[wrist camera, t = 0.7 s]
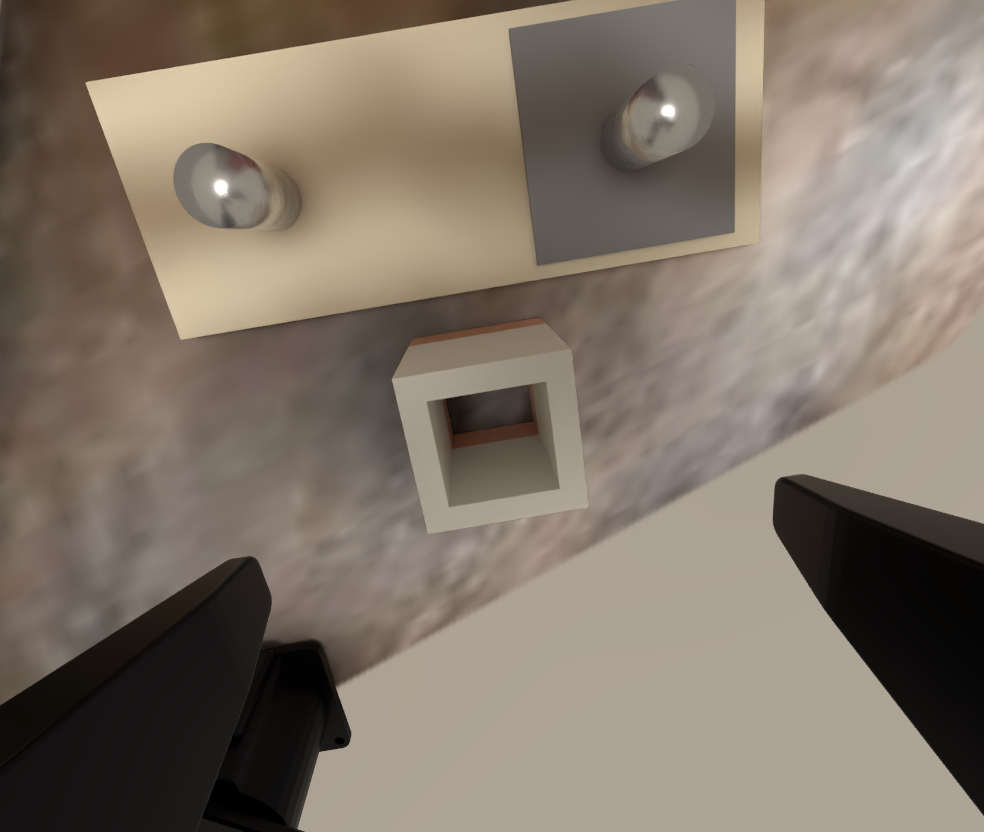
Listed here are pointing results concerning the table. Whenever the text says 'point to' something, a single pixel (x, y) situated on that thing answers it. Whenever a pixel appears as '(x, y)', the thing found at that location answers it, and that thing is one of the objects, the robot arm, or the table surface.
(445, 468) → the sleeve
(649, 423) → the table surface
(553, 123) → the pin board
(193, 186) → the pins
